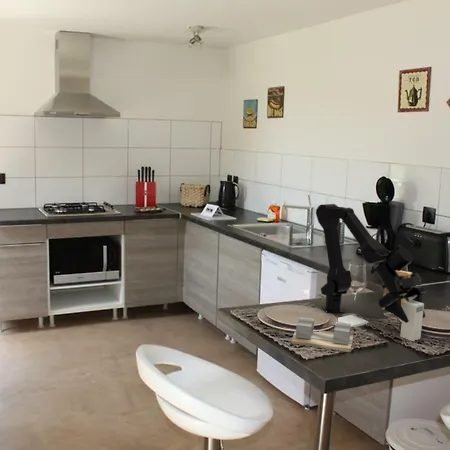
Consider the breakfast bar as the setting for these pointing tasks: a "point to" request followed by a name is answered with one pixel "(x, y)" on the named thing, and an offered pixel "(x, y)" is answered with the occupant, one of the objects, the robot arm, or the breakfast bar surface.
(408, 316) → the module block
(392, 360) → the breakfast bar surface
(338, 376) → the breakfast bar surface
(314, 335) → the rail board
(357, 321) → the external hard drive
